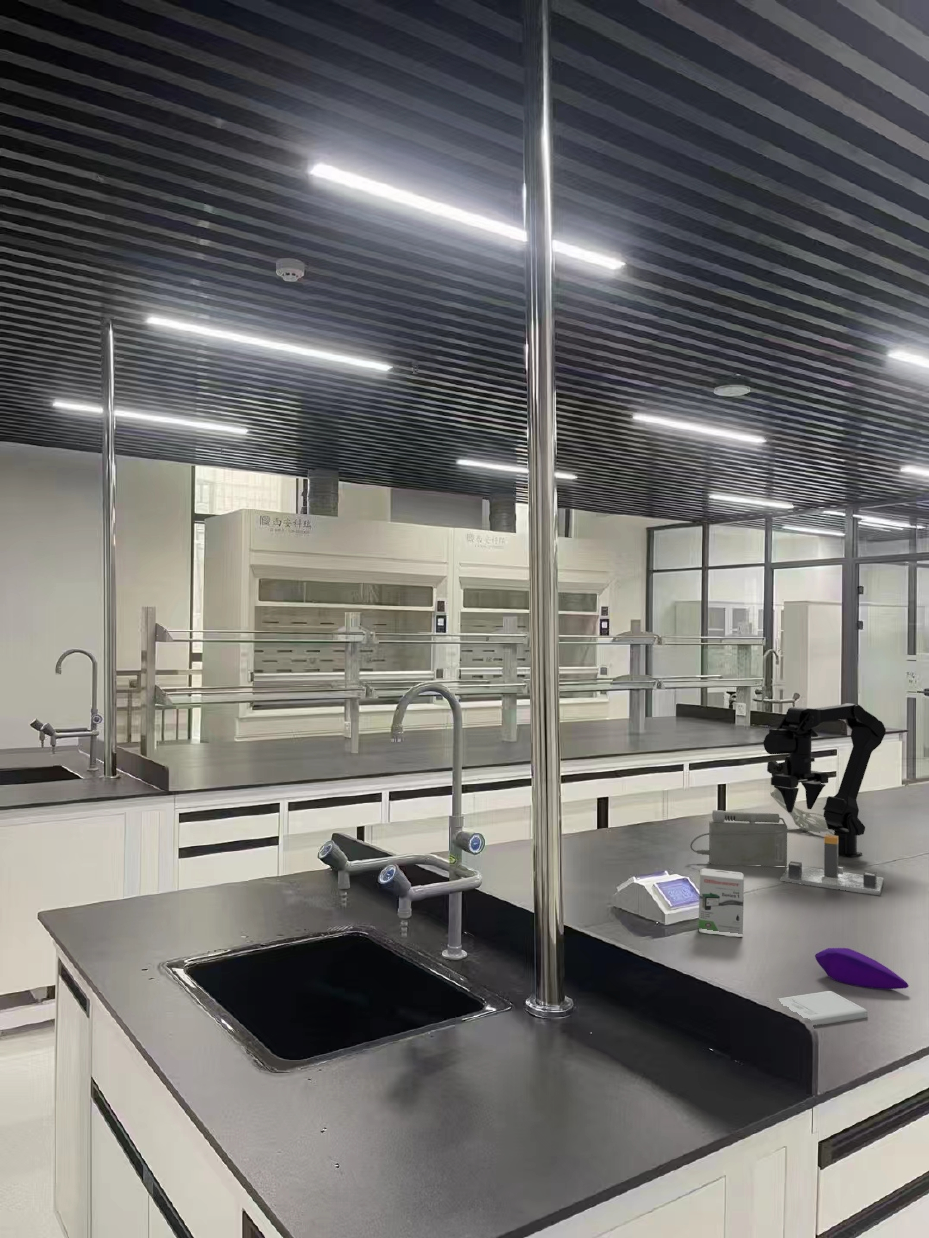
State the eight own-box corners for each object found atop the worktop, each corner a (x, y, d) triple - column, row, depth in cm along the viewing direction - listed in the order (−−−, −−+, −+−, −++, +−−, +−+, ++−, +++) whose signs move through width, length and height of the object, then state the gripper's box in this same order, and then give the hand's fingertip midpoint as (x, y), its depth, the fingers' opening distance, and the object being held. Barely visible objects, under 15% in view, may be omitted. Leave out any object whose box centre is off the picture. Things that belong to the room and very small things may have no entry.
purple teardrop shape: (907, 975, 140) (812, 945, 149) (904, 1005, 140) (809, 972, 149) (913, 967, 144) (820, 938, 153) (909, 995, 144) (816, 965, 153)
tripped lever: (825, 875, 211) (826, 834, 211) (838, 877, 209) (838, 835, 210) (824, 878, 208) (824, 836, 208) (836, 880, 207) (836, 838, 207)
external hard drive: (867, 1020, 133) (802, 1030, 128) (828, 999, 140) (766, 1008, 136) (867, 1009, 133) (802, 1019, 129) (828, 989, 140) (766, 997, 136)
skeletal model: (843, 840, 257) (780, 777, 268) (821, 860, 261) (760, 796, 272) (855, 831, 270) (795, 771, 281) (834, 849, 274) (775, 789, 285)
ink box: (697, 933, 170) (698, 873, 171) (698, 925, 175) (699, 867, 175) (743, 938, 168) (744, 877, 168) (743, 930, 172) (743, 871, 173)
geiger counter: (784, 811, 228) (688, 807, 231) (790, 815, 222) (692, 811, 225) (783, 863, 228) (688, 859, 230) (790, 869, 221) (692, 865, 224)
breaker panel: (789, 868, 222) (789, 854, 222) (883, 881, 212) (883, 866, 212) (780, 881, 210) (780, 866, 210) (879, 895, 199) (880, 879, 199)
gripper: (793, 748, 246) (793, 802, 246) (754, 752, 236) (753, 808, 235) (829, 752, 237) (829, 809, 237) (790, 756, 227) (789, 816, 226)
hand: (799, 810), depth 234 cm, fingers open, 9 cm apart
